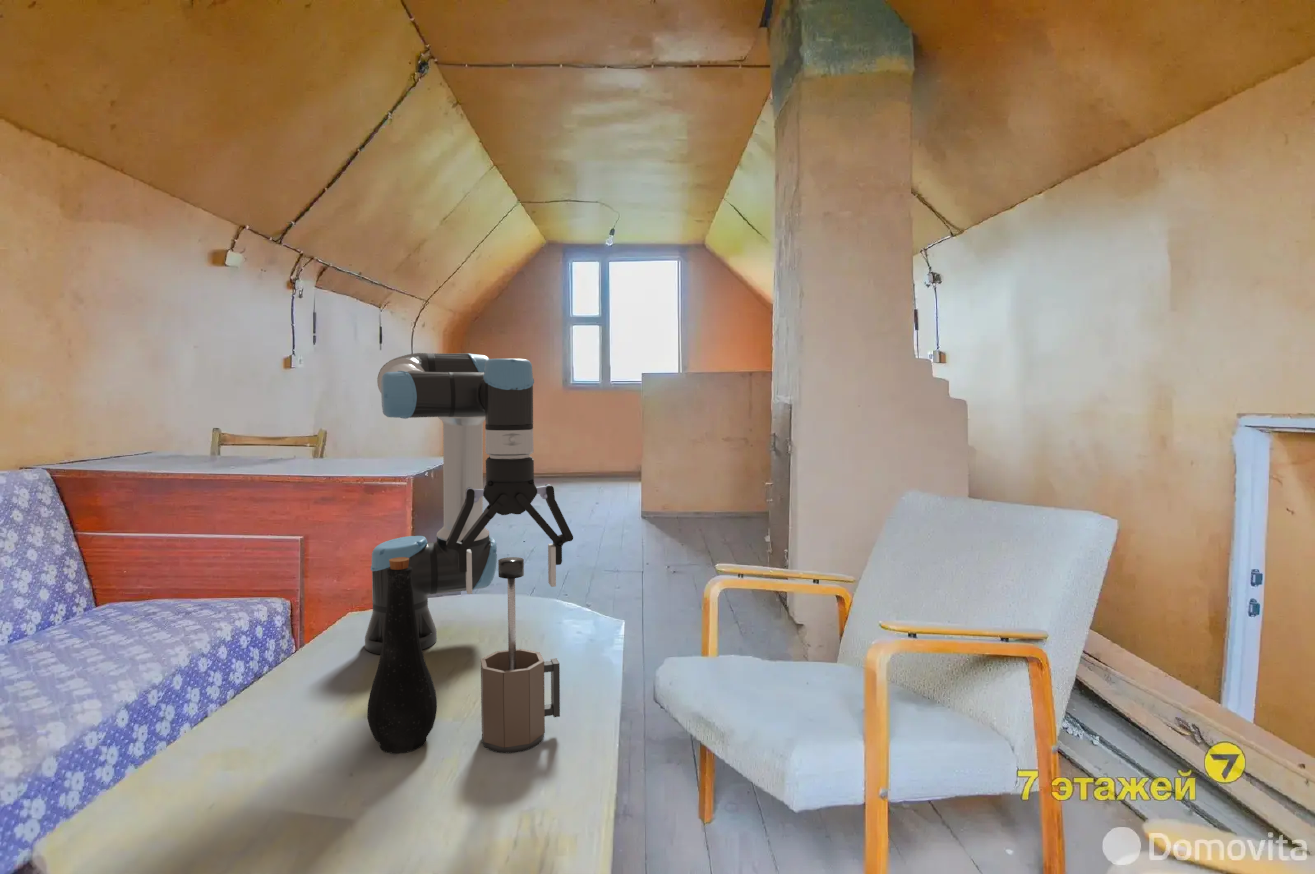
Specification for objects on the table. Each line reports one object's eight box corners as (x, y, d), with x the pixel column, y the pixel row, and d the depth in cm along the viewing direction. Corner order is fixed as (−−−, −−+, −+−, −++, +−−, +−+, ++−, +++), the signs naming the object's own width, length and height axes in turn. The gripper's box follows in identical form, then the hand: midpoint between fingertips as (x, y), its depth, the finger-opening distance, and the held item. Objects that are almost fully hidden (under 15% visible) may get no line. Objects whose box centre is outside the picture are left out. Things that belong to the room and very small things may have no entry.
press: (479, 728, 122) (478, 652, 121) (553, 717, 126) (552, 644, 125) (484, 757, 112) (483, 675, 111) (564, 744, 116) (564, 665, 115)
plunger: (489, 681, 120) (487, 556, 119) (530, 675, 122) (529, 553, 121) (493, 697, 114) (491, 566, 112) (536, 691, 116) (535, 563, 114)
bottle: (416, 762, 111) (411, 569, 108) (354, 755, 113) (348, 565, 111) (449, 730, 121) (446, 553, 119) (392, 724, 123) (387, 550, 121)
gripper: (429, 460, 108) (432, 601, 109) (590, 455, 116) (591, 587, 117) (428, 456, 115) (430, 588, 116) (580, 451, 123) (581, 575, 124)
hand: (511, 588), depth 117 cm, fingers open, 12 cm apart
